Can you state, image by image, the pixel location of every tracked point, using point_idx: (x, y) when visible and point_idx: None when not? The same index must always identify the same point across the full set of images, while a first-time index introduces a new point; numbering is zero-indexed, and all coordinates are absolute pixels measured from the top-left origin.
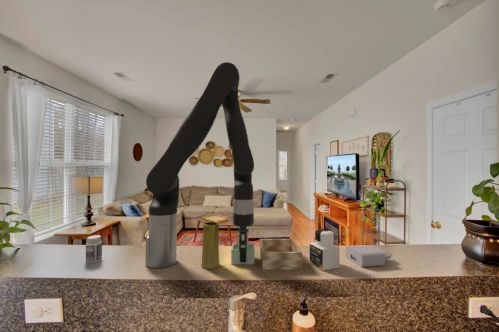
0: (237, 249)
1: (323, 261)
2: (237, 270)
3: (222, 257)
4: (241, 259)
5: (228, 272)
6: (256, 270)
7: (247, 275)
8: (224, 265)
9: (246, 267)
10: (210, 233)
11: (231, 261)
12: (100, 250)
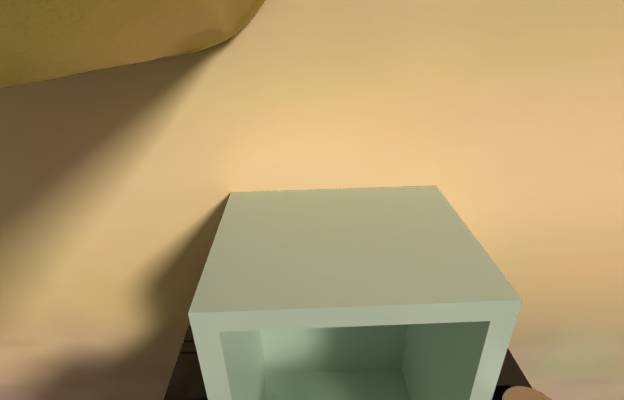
0: (216, 388)
1: None
2: (93, 261)
3: (445, 59)
4: (187, 336)
5: (16, 184)
6: (137, 385)
7: (23, 336)
8: (185, 120)
9: (178, 324)
10: None
11: (227, 209)
12: None
